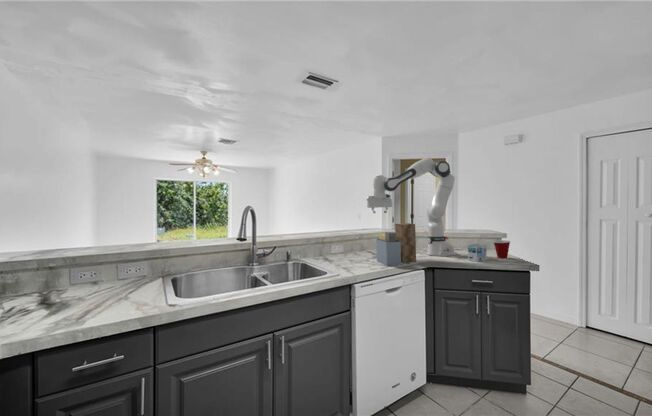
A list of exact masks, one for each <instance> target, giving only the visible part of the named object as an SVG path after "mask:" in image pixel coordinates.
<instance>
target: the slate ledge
mask: <svg viewBox="0 0 652 416" xmlns="http://www.w3.org/2000/svg"><path fill="white" fill-rule="evenodd" d="M375 243H376V244H375V245H376V261H377V262H379V263H381V264H383V265H384V266H398V265H399V266H400V265H402V263H401V244H400V240H396V242H388V241H387V240H383V239H379V237H378V238H376V239H375Z"/></svg>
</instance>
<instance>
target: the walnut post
mask: <svg viewBox="0 0 652 416" xmlns="http://www.w3.org/2000/svg"><path fill="white" fill-rule="evenodd" d="M394 228H395V231H394V233H396V240H400V244H401V264H408V263H417V245H416V243H417V241H416V238H417V237H416V224H415V223H409V222H406V223H404V222H403V223H394Z"/></svg>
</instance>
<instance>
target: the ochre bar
mask: <svg viewBox="0 0 652 416" xmlns="http://www.w3.org/2000/svg"><path fill="white" fill-rule="evenodd" d="M378 238H379V239H383V240H387V241H388V242H396V233H395V231H388V232H387V231H386V232H385V233H378Z"/></svg>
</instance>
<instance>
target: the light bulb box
mask: <svg viewBox="0 0 652 416" xmlns="http://www.w3.org/2000/svg"><path fill="white" fill-rule="evenodd" d="M467 251H468V252H467V256H468V258H467V259H468V261H469V262H470V261H471V262H475V263H478V262H479V263H480V262H483V261H484V262H485V261H487V259H488V258H487V244H484V243H483V244H482V243H472V244H468V245H467Z"/></svg>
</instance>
